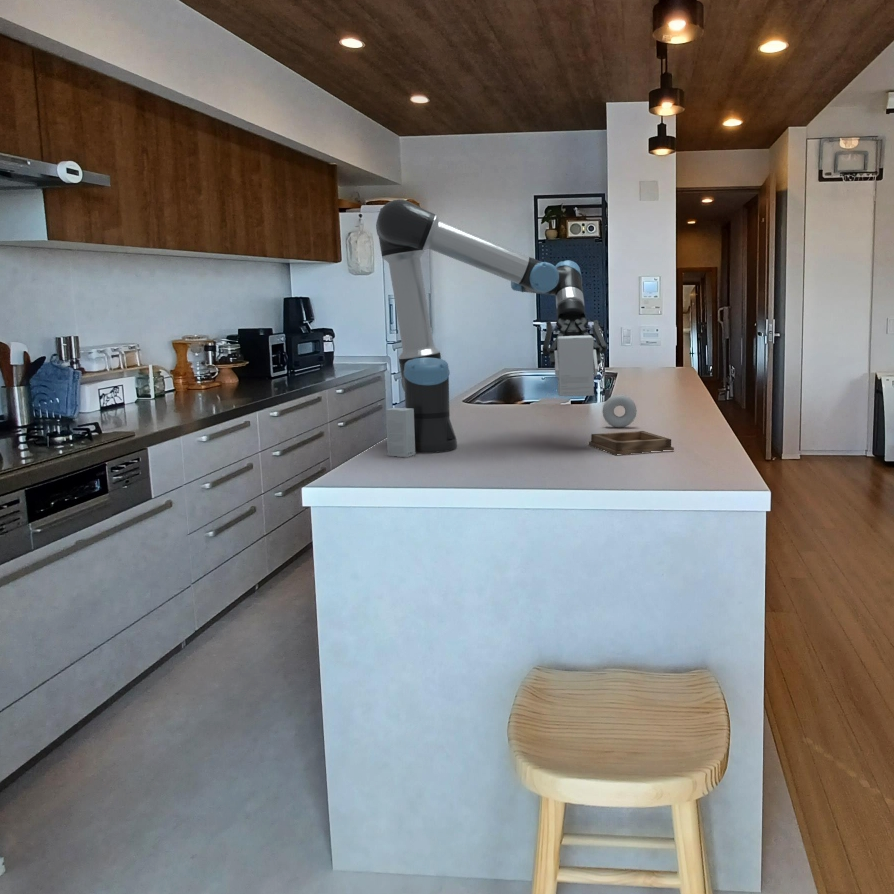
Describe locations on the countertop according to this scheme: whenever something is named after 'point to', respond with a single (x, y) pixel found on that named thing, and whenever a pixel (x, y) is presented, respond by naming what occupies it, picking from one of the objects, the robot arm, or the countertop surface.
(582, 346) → the supplement box
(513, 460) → the countertop surface
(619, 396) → the donut
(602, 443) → the holder
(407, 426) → the skincare box
